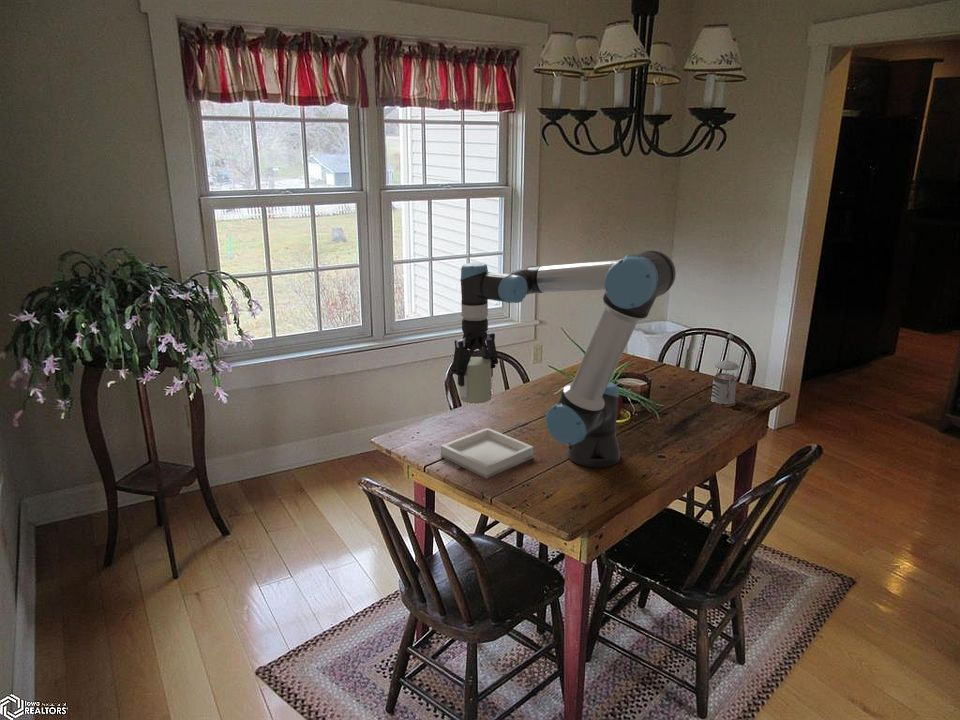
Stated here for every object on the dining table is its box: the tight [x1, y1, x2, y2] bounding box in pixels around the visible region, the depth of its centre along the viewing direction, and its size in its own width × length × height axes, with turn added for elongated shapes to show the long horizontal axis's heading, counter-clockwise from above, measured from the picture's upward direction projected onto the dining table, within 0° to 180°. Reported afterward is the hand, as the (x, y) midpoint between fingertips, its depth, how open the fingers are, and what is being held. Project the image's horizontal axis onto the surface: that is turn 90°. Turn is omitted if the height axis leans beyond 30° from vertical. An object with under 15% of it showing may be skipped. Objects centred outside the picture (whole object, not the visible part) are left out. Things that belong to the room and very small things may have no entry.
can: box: [459, 356, 492, 404], centre depth 202 cm, size 9×9×12 cm
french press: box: [710, 333, 740, 404], centre depth 238 cm, size 10×12×25 cm
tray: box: [440, 427, 534, 480], centre depth 199 cm, size 19×19×4 cm
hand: (475, 391), depth 203 cm, fingers closed on can, 9 cm apart
